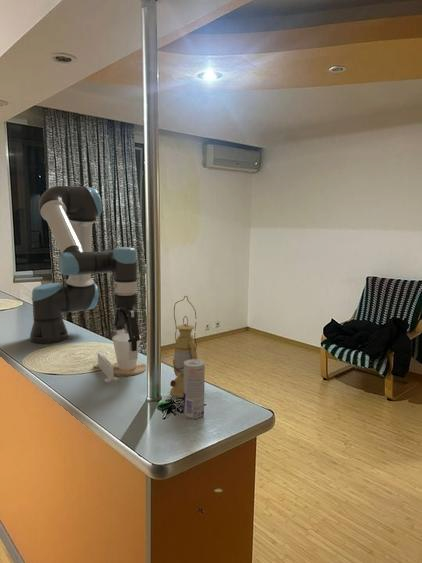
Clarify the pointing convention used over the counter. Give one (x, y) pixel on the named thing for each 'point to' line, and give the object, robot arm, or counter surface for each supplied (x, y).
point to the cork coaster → (137, 370)
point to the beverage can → (194, 388)
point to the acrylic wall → (106, 368)
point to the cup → (124, 351)
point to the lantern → (182, 354)
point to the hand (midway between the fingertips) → (126, 353)
